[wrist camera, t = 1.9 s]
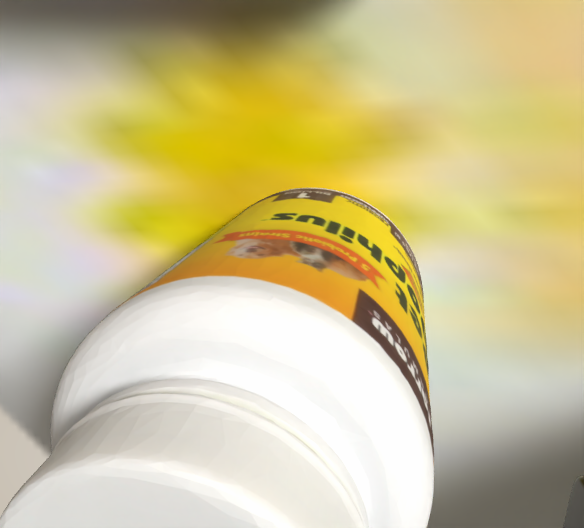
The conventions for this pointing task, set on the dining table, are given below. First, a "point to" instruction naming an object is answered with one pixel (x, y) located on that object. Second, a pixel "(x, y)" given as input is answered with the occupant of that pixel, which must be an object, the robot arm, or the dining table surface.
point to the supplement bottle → (252, 385)
